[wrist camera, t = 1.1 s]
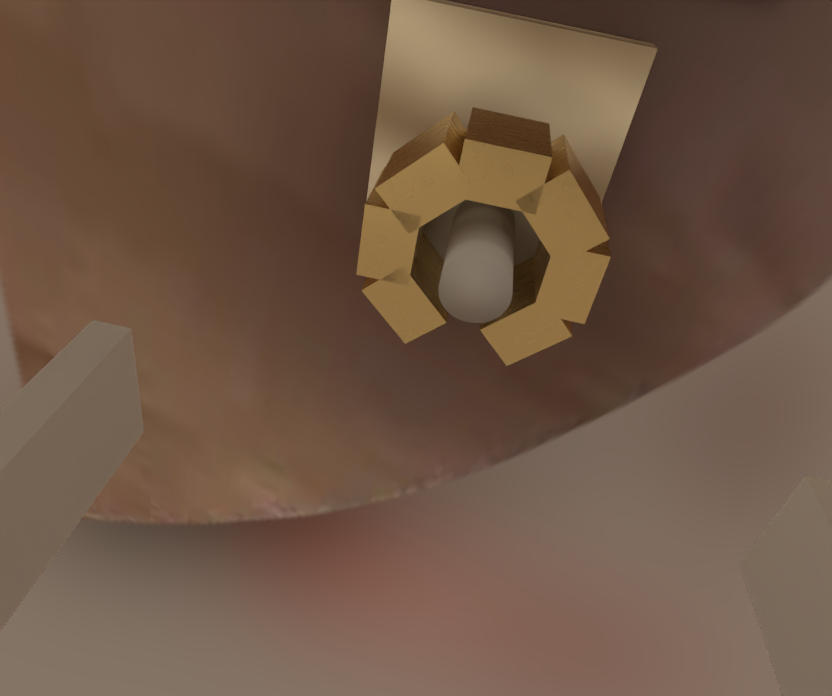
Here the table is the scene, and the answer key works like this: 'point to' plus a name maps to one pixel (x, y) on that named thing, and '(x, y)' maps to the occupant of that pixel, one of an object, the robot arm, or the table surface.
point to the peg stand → (509, 94)
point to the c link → (499, 186)
